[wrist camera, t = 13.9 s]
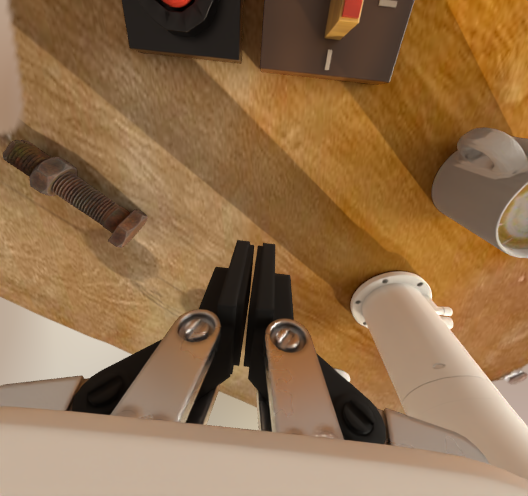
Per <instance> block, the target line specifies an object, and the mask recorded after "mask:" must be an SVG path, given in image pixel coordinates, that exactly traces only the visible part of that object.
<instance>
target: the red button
mask: <svg viewBox="0 0 528 496" xmlns="http://www.w3.org/2000/svg"><path fill="white" fill-rule="evenodd" d="M162 1H163V2H164V3H166V4H167V5H169V6H171V7H174V8H181V7H184V6H186V5H187V4H189V3H190V1H191V0H162Z"/></svg>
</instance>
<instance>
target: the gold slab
mask: <svg viewBox="0 0 528 496" xmlns="http://www.w3.org/2000/svg"><path fill="white" fill-rule="evenodd" d="M363 2H364V0H331V1H330V7H329V13H328V19H327V24H326V30H325V36H324V38H326V39H335V40H341V39H342V38H343V37H344V36H345V35H346V34H347V33H348V32H349V31H350V30H351V29H353V28H354V27H355V26H356V25H357V24H358V23H359V19H360V15H361V11H362V6H363Z"/></svg>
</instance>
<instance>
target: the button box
mask: <svg viewBox="0 0 528 496" xmlns="http://www.w3.org/2000/svg"><path fill="white" fill-rule="evenodd" d="M122 4H123V10H124V16H125V22H126V28H127V34H128V40H129V46H130V48H131V49H133V50H136V51H138V52H141V53H149V54H158V55H167V56H177V57H186V58H195V59H204V60H213V61H222V62H231V63H240V64H241V63H242V32H243V0H191V1H190V3H189V4H187V5H186V6H184V7H181V8H174V7H171V6H169V5H167V4H166V3H164V2H163V1H162V0H122Z"/></svg>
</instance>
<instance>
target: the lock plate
mask: <svg viewBox="0 0 528 496" xmlns="http://www.w3.org/2000/svg"><path fill="white" fill-rule="evenodd" d="M330 1H331V0H264V13H263V28H262V44H261V59H260V69H261V72H266V73H275V74H284V75H293V76H302V77H312V78H321V79H330V80H339V81H348V82H357V83H367V84H376V85H377V84H383V83H389V82H390V79H391V76H392V73H393V69H394V66H395V63H396V60H397V56H398V53H399V50H400V46H401V43H402V40H403V37H404V33H405V30H406V27H407V23H408V20H409V17H410V14H411V10H412V7H413V4H414V1H415V0H364V2H363V6H362V11H361V15H360V19H359V23H358V24H357V25H356V26H355V27H354V28H353V29H351V30H350V31H349V32H348V33H347V34H346V35H345V36H344V37H343V38H342V39H341V40H335V39H326V38H324V36H325V30H326V24H327V19H328V13H329V7H330Z"/></svg>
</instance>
